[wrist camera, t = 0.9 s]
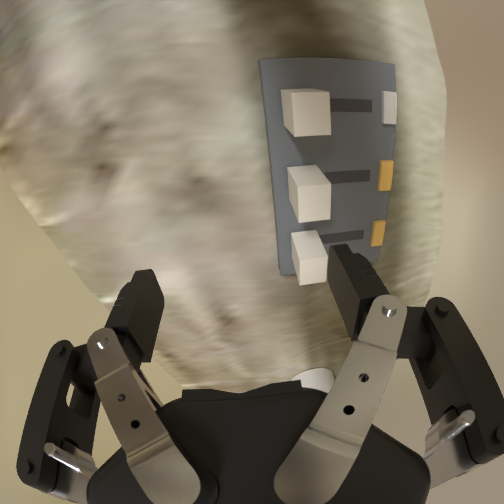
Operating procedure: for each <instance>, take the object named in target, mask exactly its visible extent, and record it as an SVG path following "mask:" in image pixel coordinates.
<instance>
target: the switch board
mask: <svg viewBox="0 0 504 504" xmlns="http://www.w3.org/2000/svg"><path fill="white" fill-rule="evenodd" d="M258 64H259V71H260V79H261V87H262V96H263V104H264V113H265V122H266V131H267V140H268V150H269V160H270V170H271V180H272V191H273V202H274V213H275V225H276V238H277V250H278V264H279V270H280V275H281V276H282V275H290V274H296V270H295V267H294V263H293V259H292V246H291V233H294V232H302V231H310V230H316V231H317V233H318V235H319V237H320V239H321V242H322V244H323V246H324V248H325V251H326V253H327V255H328V261H329V247H330V245H337V244H344V243H346V244H347V245H348V246H349V248H350V249H351V251H352V252H353V253H360V254H361V255H363V256H364V257H366V258H367V259H368V261H369V262H377V261H378V258H379V253H380V248H381V245H382V242H383V236H384V231H385V225H386V215H387V208H388V201H389V194H390V190H391V184H392V175H393V165H394V162H393V156H394V142H395V124H396V115H397V93H396V80H395V65H394V64H388V63H381V62H374V61H365V60H355V59H342V58H316V57H299V58H273V59H260V60H258ZM305 88H313V89H318V90H323V91H327V92H329V96H330V117H331V135H316V136H300V137H294V136H293V134H292V133H291V132H290V131H289V130H288V129H287V128H286V127H285V126H284V120H283V109H282V99H281V90H284V89H305ZM307 165H317V167H318V168H319V169H320V170H321V172H322V173H323V174H324V175H325V177H326V178H327V179H328V180H329V182H330V183H331V211H330V219H329V220H320V221H311V222H303V223H299V222H298V220H297V217H296V214H295V212H294V209H293V207H292V204H291V202H290V199H289V186H288V171H287V167H295V166H307ZM327 269H328V263H327Z"/></svg>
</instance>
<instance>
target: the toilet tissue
mask: <svg viewBox="0 0 504 504" xmlns="http://www.w3.org/2000/svg"><path fill="white" fill-rule="evenodd" d="M300 379H301V384H302V387H307V388H313V389H317V390H321V391H324V392H326V393H329V391H330V389H331V387H332V385H333V384H334V382H335V380H334V376H333V372H332V371H331V370H330V369H326V368H316V369H311V370H307V371H304V372H301V373H299V374H297V375H296V376H294V377H293V378H292V379H291V381H294V380H300Z"/></svg>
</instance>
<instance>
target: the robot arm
mask: <svg viewBox="0 0 504 504" xmlns="http://www.w3.org/2000/svg"><path fill="white" fill-rule="evenodd" d="M328 281H329V285H330V288H331V290H332V293H333V295H334V298H335V300H336V303H337V305H338V308H339V310H340V313H341V315H342V318H343V320H344V323H345V325H346V328H347V331H348V333H349V336H350V338H351V341H354V340H355V341H354V343H353V345H352V347H351V349H350V352H349V354H348V356H347V358H346V360H345V362H344V364H343V366H342V368H341V370H340V372H339V374H338V376H337V378H336V380H335V382H334V384H333V385H332V387H331V389H330V391H329V393H326V392H324V391H321V390H317V389H313V388H307V387H302V384H301V379H300V380H294V381H287V382H280V383H272V384H269V385H266V386H263V387H260V388H257V389H254V390H251V391H248V392H245V393H231V392H225V391H219V390H214V389H189V390H182V398H179V399H176V400H173V401H171V402H169V403H167V404H165V405H163V403H162V402H161V401H160V399H159V398H158V396H157V395H156V393H155V392H154V390H153V388H152V387H151V385H150V383H149V382H148V380H147V378H146V377H145V375H144V373H143V372H142V370H141V369H140V365H141V362H151V358H152V354H153V349H154V345H155V341H156V337H157V333H158V329H159V325H160V321H161V317H162V313H163V309H164V296H163V293H162V291H161V289H160V286H159V284H158V281H157V279H156V276H155V274H154V272H153V270H152V269H147V270H139V271H136V272H135V273H134V275H133V277H132V280H131V282H128V283H127V284H126V285H125V286H124V287H123V288H122V289H121V291H120V293H119V295H118V297H117V300H116V301H115V304H114V306H113V308H112V311H111V313H110V315H109V318H108V320H107V322H106V325H105V327H104V328H101V329H99V330H97V331H95V332H94V333H93V334H92V335H91V336H90V338H89V339H88V342H87V344H84V345H80V346H78V347H74V346H73V345H72V344H71V342H70V341H68V340H61V341H59V342H57V343H56V344H54V345H53V347H52V348H51V349H50V351H49V354H48V356H47V359H46V361H45V364H44V366H43V369H42V372H41V374H40V377H39V380H38V383H37V386H36V389H35V392H34V395H33V398H32V401H31V404H30V408H29V411H28V415H27V419H26V422H25V426H24V430H23V434H22V439H21V443H20V448H19V453H18V458H17V465H16V468H17V473H18V476H19V478H20V479H21V481H22V482H23V483H25V484H27V485H29V486H31V487H33V488H36V489H38V490H40V491H41V492H44V493H46V494H49V495H51V496H54V497H57V498H60V499H63V500H68V501H71V502H75V503H80V504H425V502H426V499H427V496H428V493H429V490H430V489H431V488H433V487H436V486H438V485H440V484H442V483H444V482H446V481H448V480H450V479H452V478H454V477H458V476H460V475H463V474H465V473H467V472H470V471H472V470H474V469H476V468H478V467H480V466H482V465H483V464H485V463H488V462H490V461H491V460H493V459H495V458H497V457H499V456H500V455H502V454H504V398H503V395H502V393H501V391H500V388H499V386H498V384H497V382H496V380H495V378H494V375H493V373H492V371H491V369H490V367H489V365H488V363H487V361H486V359H485V357H484V355H483V353H482V351H481V350H480V348H479V346H478V344H477V342H476V340H475V339H474V337H473V335H472V333H471V332H470V330H469V328H468V326H467V325H466V323H465V321H464V320H463V318H462V317H461V315H460V313H459V312H458V310H457V309H456V307H455V305H454V304H453V303H452V302H451V301H449V300H448V299H445V298H442V297H434V298H431V299H430V300H429V301H428V302H427V304H426V307H409V306H406V304H405V303H404V301H403V300H401V299H400V298H398V297H396V296H393V295H390V294H389V292H388V291H387V289H386V287H385V286H384V284H383V282H382V281H381V279H380V278H379V276H378V275H377V274H376V271H375V270H374V268H372V265H371V264H370V262H369V261H368V259H367V258H366V257H364V256H363V255H361V254H360V253H353V252H352V251H351V249H350V248H349V246H348V245H347V244H346V243H344V244H337V245H330V247H329V261H328ZM396 358H405V359H406V358H407V359H409V361H410V364H411V366H412V369H413V371H414V374H415V377H416V379H417V382H418V385H419V388H420V391H421V393H422V396H423V399H424V402H425V405H426V408H427V411H428V415H429V418H430V421H431V424H432V426H431V427H430V428H429V430H428V432H427V434H426V437H425V445H426V449H425V454H424V456H423V458H422V457H421V456H420V455H419V454H417V453H416V452H414V451H413V450H411V449H409V448H408V447H406V446H405V445H403V444H402V443H400V442H399V441H397V440H395V439H394V438H392V437H391V436H389V435H388V434H386V433H385V432H383V431H382V430H380V429H379V428H377V427H376V426H374V425H373V424H372V422H373V420H374V417H375V414H376V412H377V410H378V408H379V405H380V403H381V400H382V398H383V395H384V392H385V390H386V387H387V384H388V381H389V379H390V376H391V372H392V370H393V367H394V364H395V360H396ZM70 383H71V384H72V385H73V386H74V391H73V394H72V398H71V402H70V406H69V407H68V405H67V402H66V396H67V392H68V389H69V386H70ZM100 402H102V405H103V407H104V409H105V412H106V414H107V416H108V419H109V421H110V423H111V425H112V427H113V429H114V432H115V434H116V436H117V438H118V440H119V441H120V444H121V445H122V447H121V448H120V449H119V450H118V451H117V452H116V453H114V455H112V456H111V458H109V459H108V460H107V461H106V462H105V463H104V464H103V465H102V466H101V467H100V468H99V469H98V468H97V467H96V466H95V462H94V460H93V458H92V457H91V456H92V448H93V442H94V435H95V429H96V423H97V417H98V412H99V407H100Z"/></svg>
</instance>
